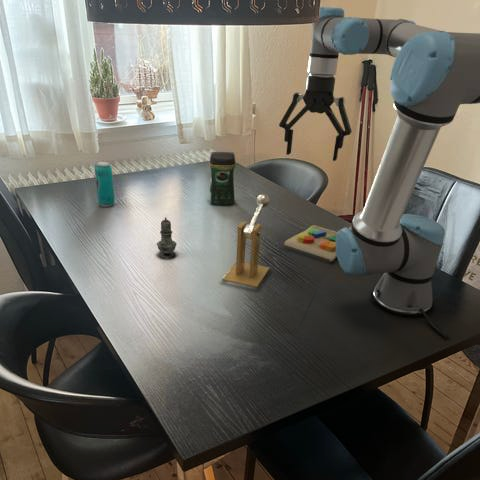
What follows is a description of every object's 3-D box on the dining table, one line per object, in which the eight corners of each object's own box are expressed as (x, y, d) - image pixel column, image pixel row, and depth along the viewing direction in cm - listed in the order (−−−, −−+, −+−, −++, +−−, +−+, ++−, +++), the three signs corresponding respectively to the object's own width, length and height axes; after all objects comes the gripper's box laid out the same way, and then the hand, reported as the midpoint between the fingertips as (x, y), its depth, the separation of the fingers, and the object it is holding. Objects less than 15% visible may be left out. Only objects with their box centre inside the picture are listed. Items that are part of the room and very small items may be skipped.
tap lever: (259, 200, 142) (258, 190, 139) (271, 202, 141) (270, 192, 138) (241, 239, 134) (240, 229, 131) (254, 241, 133) (253, 232, 130)
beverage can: (98, 202, 183) (93, 161, 174) (114, 201, 184) (110, 160, 176) (99, 208, 178) (94, 166, 170) (115, 206, 180) (111, 165, 171)
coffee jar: (234, 198, 192) (236, 149, 182) (234, 206, 186) (236, 155, 175) (209, 197, 192) (209, 148, 181) (208, 205, 185) (209, 154, 175)
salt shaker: (173, 260, 147) (172, 222, 141) (154, 257, 148) (152, 219, 141) (179, 251, 152) (178, 214, 145) (160, 249, 153) (159, 212, 146)
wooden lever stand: (237, 265, 147) (239, 214, 138) (269, 272, 144) (274, 220, 135) (222, 283, 137) (223, 230, 128) (256, 291, 135) (260, 237, 126)
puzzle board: (357, 243, 163) (359, 233, 161) (332, 264, 150) (333, 254, 148) (309, 229, 171) (311, 220, 169) (282, 248, 158) (283, 238, 156)
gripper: (370, 78, 133) (356, 159, 144) (280, 70, 139) (273, 148, 150) (367, 80, 127) (352, 165, 138) (272, 72, 133) (266, 153, 144)
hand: (311, 156), depth 144 cm, fingers open, 13 cm apart
